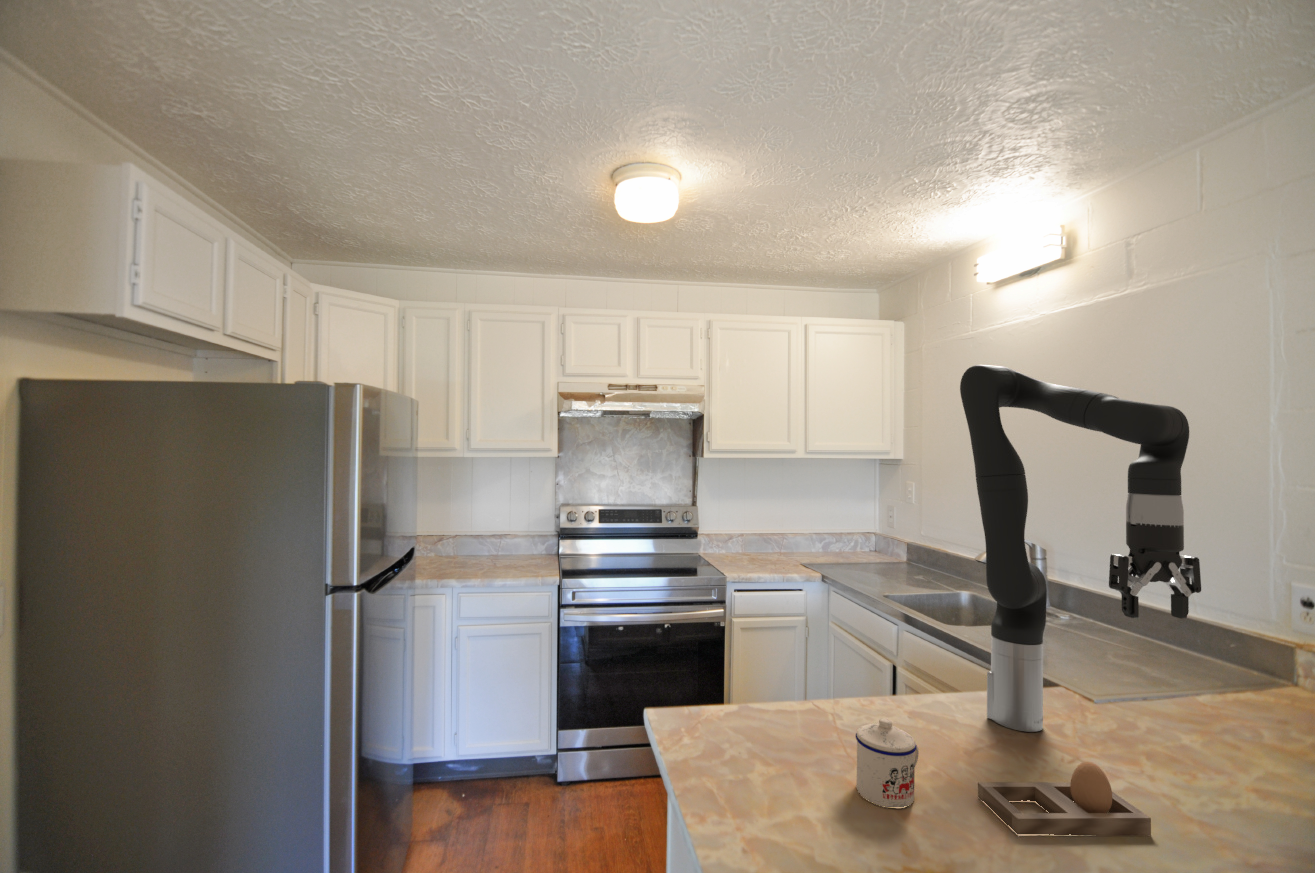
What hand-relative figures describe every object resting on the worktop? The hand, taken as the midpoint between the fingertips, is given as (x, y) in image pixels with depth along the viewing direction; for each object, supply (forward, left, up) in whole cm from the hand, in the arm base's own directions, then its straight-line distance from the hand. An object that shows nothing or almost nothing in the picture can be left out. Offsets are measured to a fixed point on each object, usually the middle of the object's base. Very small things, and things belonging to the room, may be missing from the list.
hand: (1154, 617), depth 99 cm
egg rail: (-7, -23, -28) cm, 37 cm away
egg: (-4, -19, -28) cm, 34 cm away
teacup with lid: (-26, -38, -28) cm, 54 cm away
